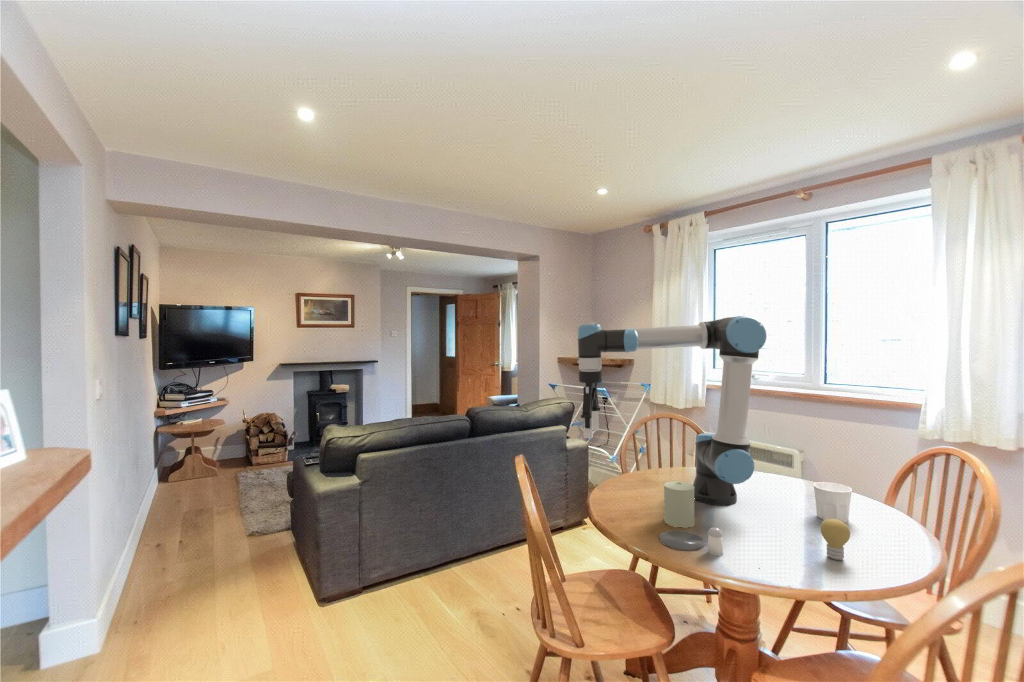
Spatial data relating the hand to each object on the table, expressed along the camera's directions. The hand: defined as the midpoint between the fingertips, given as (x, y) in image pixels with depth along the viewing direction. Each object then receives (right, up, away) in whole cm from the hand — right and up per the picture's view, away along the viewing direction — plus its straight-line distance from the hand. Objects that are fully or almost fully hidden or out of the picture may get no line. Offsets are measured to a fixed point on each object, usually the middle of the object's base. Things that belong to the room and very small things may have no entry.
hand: (591, 433), depth 159 cm
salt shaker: (+28, -26, -31) cm, 49 cm away
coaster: (+22, -26, -24) cm, 41 cm away
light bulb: (+58, -26, -35) cm, 72 cm away
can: (+26, -26, -10) cm, 38 cm away
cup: (+75, -25, -8) cm, 80 cm away
